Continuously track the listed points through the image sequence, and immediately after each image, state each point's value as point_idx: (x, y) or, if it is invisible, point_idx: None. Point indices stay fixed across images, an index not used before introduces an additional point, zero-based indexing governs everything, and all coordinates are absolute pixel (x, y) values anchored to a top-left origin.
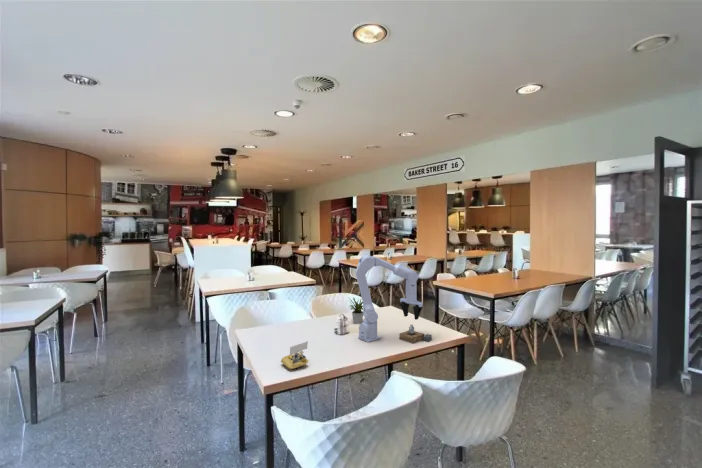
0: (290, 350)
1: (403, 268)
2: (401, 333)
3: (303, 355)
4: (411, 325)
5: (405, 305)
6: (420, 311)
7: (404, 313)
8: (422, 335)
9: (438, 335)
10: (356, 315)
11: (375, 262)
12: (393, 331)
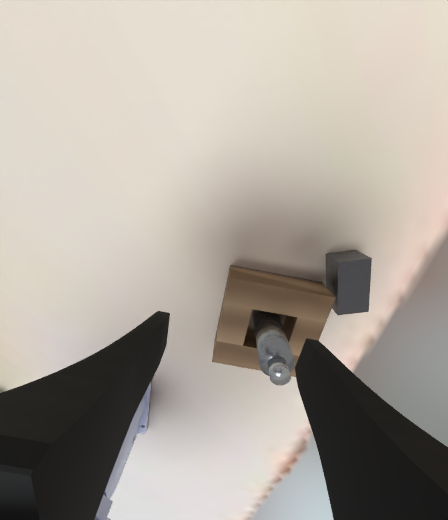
0: None
1: None
2: (221, 357)
3: None
4: (283, 383)
5: (86, 493)
6: (405, 420)
7: (151, 378)
8: (328, 307)
9: (372, 153)
10: None
11: None
12: (117, 267)
